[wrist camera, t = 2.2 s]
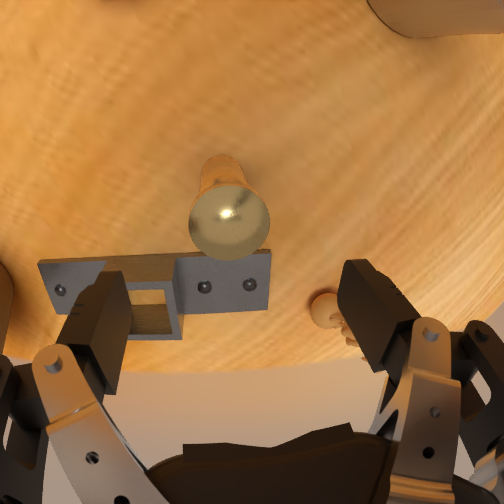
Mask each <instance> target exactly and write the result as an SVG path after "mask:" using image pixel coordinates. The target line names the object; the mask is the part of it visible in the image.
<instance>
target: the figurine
mask: <svg viewBox="0 0 504 504" xmlns="http://www.w3.org/2000/svg"><path fill="white" fill-rule="evenodd" d="M310 314H311V318H312V320H313V322H314V323H315V324H316V325H317V326H319V327H321V328H324V329H331V328H339V327H342V329H341V333H342V335H343V336H345V337H346V344H347V345H351V346H356V347H360V346H359V344H358V343H357V341H356V339H355V337H354V335H353V333H352V332H351V330H350V328H349V326H348V324H347V323H346V321H345V319H344V317H343V316H342V314H341V312H340V310H339V308H338V304H337V295H335V294H332V293H325V294H322V295H320V296H318V297H317V298H316V299H315V300H314V301H313V303H312V305H311V309H310ZM342 321H345V322H344V323H342ZM361 359H363V360H364V361H367V359H366V357H365V358H363V357H362V358H361ZM367 362H368V361H367ZM381 372H382V371H380V372H376V373H381Z"/></svg>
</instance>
